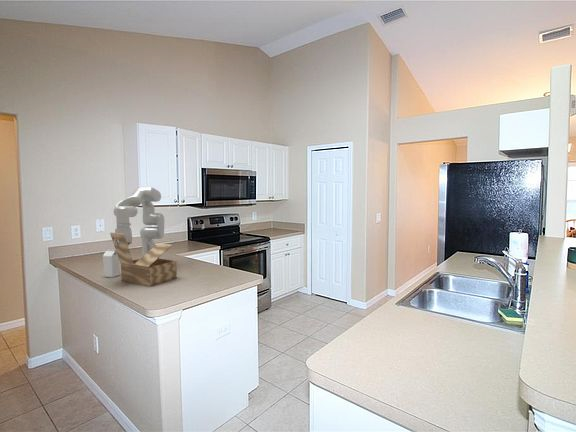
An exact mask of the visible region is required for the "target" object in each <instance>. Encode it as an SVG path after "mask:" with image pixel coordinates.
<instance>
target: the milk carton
mask: <svg viewBox="0 0 576 432" xmlns="http://www.w3.org/2000/svg"><path fill="white" fill-rule="evenodd" d="M102 265H103V268H102V269H103V277H105V278H106V277H107V278H114V277H117V276H120V275H121V273H120V272H121V271H120V270H121V267H120V260H119V258H118V255H117V252H116V249H115V248H114V249H113V248H112V249H108V248H107V249H105V252H104V254H103V255H102Z"/></svg>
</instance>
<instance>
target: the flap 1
mask: <svg viewBox="0 0 576 432" xmlns="http://www.w3.org/2000/svg"><path fill="white" fill-rule="evenodd" d="M109 234H110V238H111V240H112V242H113V245H114V250H115V251H116V252H117V255H118V258H119V264H121V263H124V264H130V265H134V263H133V260H134V259H133V257H132V254H131V251H130V247H129V245H127V242H126V239H125V236H124V234H121V233H115V232H109ZM115 238H116V241H117V239H118V240H119V242H120V244H119V246H116V243H115V241H114V239H115Z"/></svg>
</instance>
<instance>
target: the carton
mask: <svg viewBox="0 0 576 432" xmlns="http://www.w3.org/2000/svg"><path fill="white" fill-rule="evenodd" d="M140 259H141V258H138V259H132V260H133V263H134V264H135V263H136V262H137V261H138V260H140ZM120 270H121V271H120V272H121V273H120V275H121V281H122V282H123V281H124V282H128V283H132V284H137V285H142V286H144V287H145V286H146V287H153V286H156V285H158V284H162V283H164V282H167V281H171V280H174V279H178V277H177V273H178V272H177V260H172V259H166V258H161V257H159V258H158V259H157V260H156V261H155V262H154V263H152V264H151V265H150V266H149V267H144V266H138V265H130V264H124V263H120Z"/></svg>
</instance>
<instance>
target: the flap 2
mask: <svg viewBox="0 0 576 432" xmlns="http://www.w3.org/2000/svg"><path fill="white" fill-rule="evenodd" d="M172 246H173V245H172V244H168V243H162V242H161V243H160V242H158V243H156V244H155V246H154V247H153V248H152V249H151V250H150V251H149V252H147V253H146V254H145V255H144V256H141V257H140V258H139V259H140V260H138V261H137V262H136V263H135V264H134V265H138V266H144V267H149V266H150V265H151V264H152V263H154V262H155V261H156V260H157V259H158V258H161V256H162V255H163V254H165V252H166V251H168V250H169V249H170V248H171V247H172Z"/></svg>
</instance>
